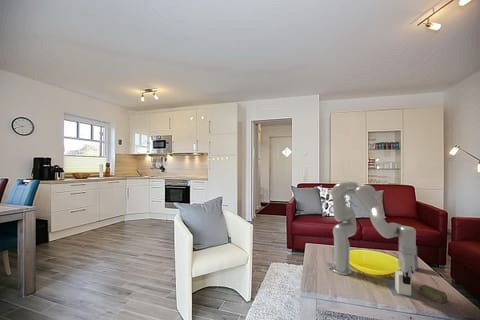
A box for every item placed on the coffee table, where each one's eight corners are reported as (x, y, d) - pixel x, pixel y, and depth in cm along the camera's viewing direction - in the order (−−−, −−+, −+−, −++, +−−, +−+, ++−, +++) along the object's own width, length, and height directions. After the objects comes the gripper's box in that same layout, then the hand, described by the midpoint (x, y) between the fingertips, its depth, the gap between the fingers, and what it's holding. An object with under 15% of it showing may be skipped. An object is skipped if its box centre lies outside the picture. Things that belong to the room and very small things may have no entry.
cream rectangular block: (398, 294, 130) (398, 274, 130) (394, 288, 135) (395, 269, 135) (411, 296, 128) (411, 276, 128) (407, 290, 134) (407, 271, 134)
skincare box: (418, 269, 162) (418, 246, 163) (414, 271, 158) (414, 248, 159) (404, 264, 169) (404, 242, 170) (399, 266, 165) (400, 244, 166)
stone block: (443, 305, 121) (443, 295, 121) (417, 294, 131) (417, 285, 131) (448, 302, 124) (448, 292, 124) (422, 291, 134) (422, 283, 134)
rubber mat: (393, 295, 129) (393, 295, 129) (383, 278, 148) (383, 278, 148) (419, 300, 125) (419, 299, 125) (405, 282, 144) (405, 281, 144)
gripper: (394, 244, 135) (394, 276, 135) (403, 253, 121) (403, 289, 120) (409, 245, 133) (409, 278, 132) (421, 255, 118) (420, 292, 118)
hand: (406, 283), depth 126 cm, fingers closed
